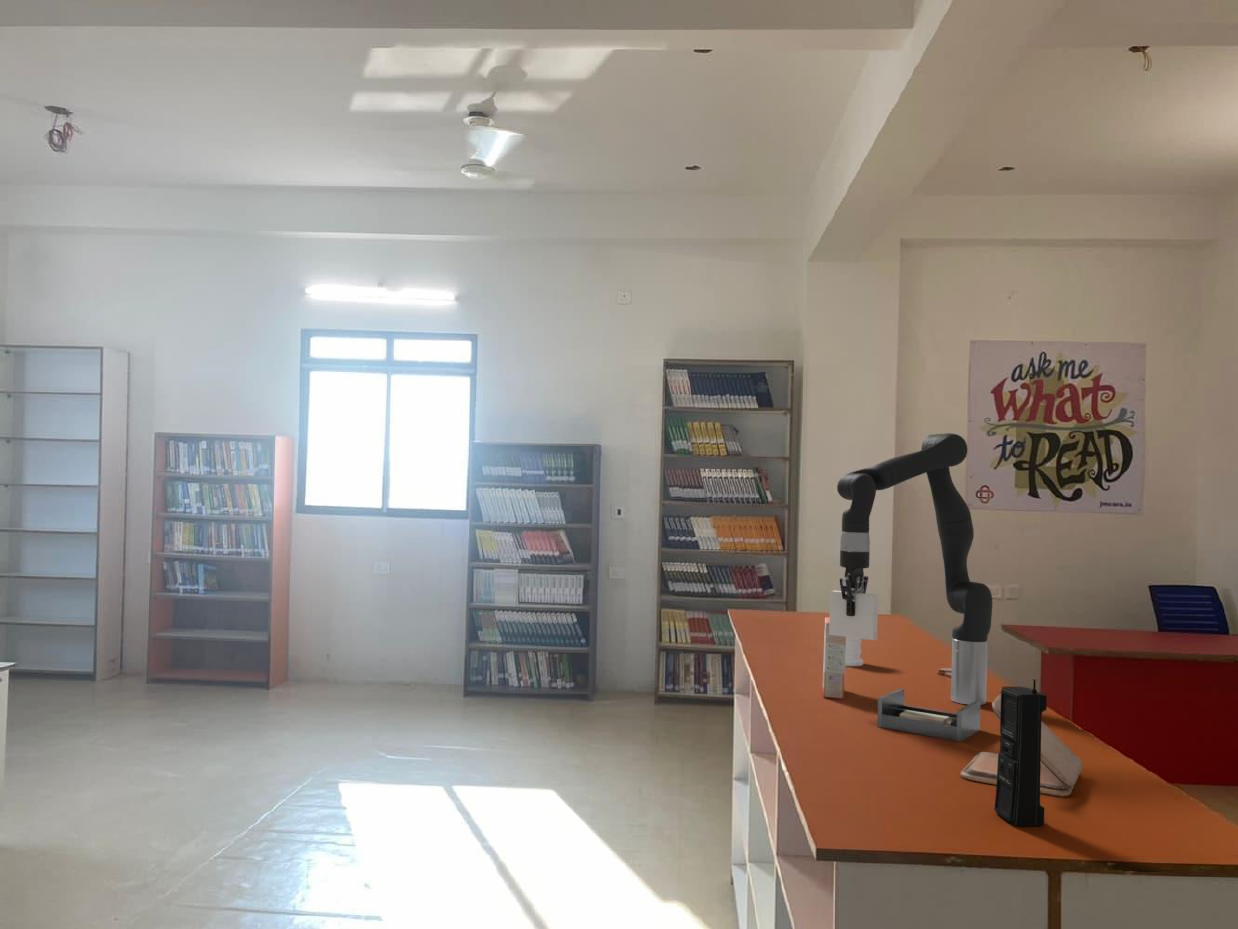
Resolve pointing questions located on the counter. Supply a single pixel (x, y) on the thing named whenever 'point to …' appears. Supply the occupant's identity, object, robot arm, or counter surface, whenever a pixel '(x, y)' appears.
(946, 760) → the counter surface
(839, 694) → the cracker box
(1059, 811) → the counter surface
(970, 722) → the rack
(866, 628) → the tall board
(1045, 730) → the case
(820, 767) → the counter surface
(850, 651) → the decorative container
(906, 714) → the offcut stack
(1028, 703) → the portable radio
